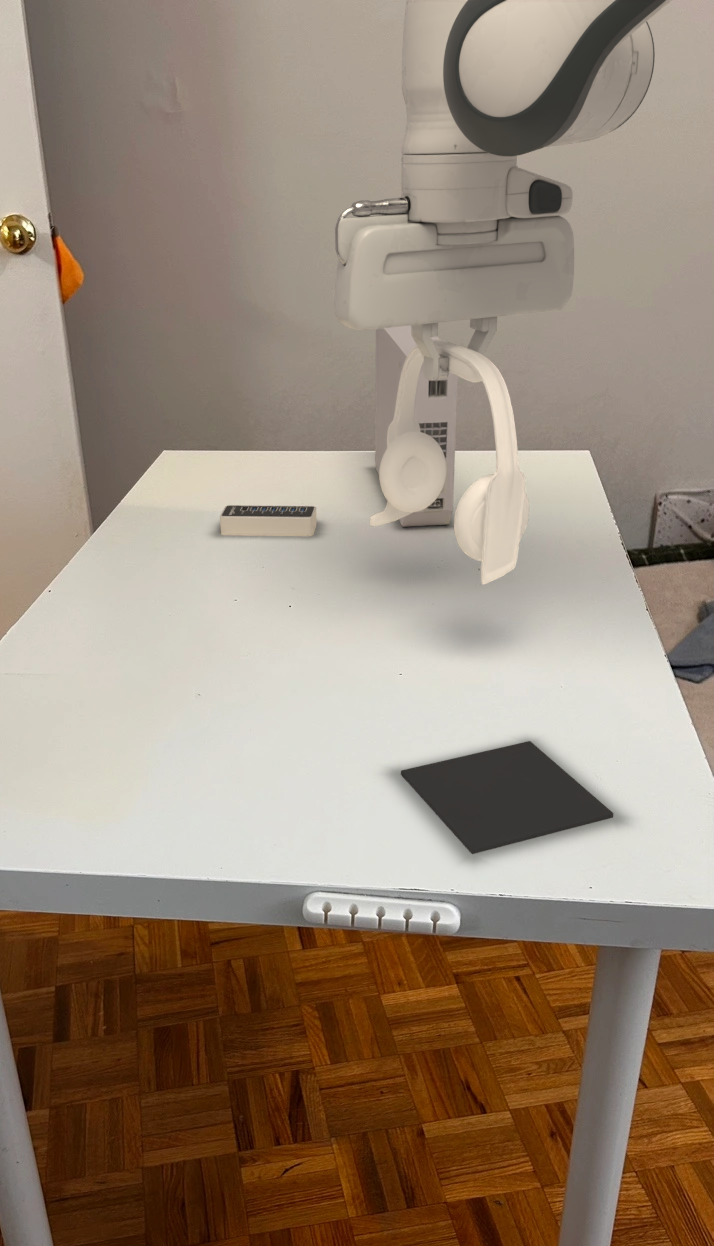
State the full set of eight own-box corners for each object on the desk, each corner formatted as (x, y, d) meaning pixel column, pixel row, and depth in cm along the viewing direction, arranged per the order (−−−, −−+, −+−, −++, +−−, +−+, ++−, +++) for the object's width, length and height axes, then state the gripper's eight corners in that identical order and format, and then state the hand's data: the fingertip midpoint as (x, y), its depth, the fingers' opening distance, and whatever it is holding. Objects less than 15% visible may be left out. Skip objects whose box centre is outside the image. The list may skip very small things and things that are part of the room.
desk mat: (529, 745, 85) (530, 740, 85) (613, 817, 76) (613, 813, 76) (400, 774, 82) (400, 770, 82) (472, 854, 73) (472, 849, 73)
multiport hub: (313, 536, 129) (312, 517, 128) (220, 535, 130) (219, 516, 129) (316, 524, 133) (316, 505, 132) (226, 523, 134) (225, 504, 133)
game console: (416, 466, 153) (420, 315, 144) (454, 531, 129) (461, 355, 120) (375, 468, 153) (375, 317, 143) (404, 534, 129) (407, 357, 119)
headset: (539, 579, 93) (554, 359, 84) (464, 593, 91) (471, 369, 82) (432, 513, 109) (435, 324, 101) (366, 523, 107) (364, 331, 99)
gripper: (351, 204, 81) (354, 397, 87) (591, 188, 87) (577, 369, 93) (319, 200, 86) (324, 382, 92) (547, 185, 92) (537, 357, 99)
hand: (453, 376), depth 93 cm, fingers closed on headset
